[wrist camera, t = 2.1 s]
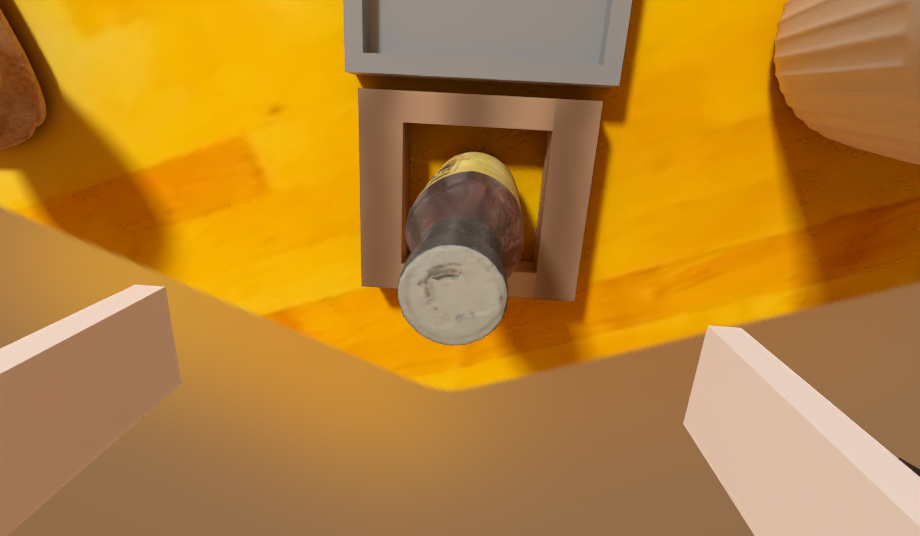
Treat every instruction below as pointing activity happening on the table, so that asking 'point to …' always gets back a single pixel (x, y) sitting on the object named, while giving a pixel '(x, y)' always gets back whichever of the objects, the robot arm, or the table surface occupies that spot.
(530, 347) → the table surface
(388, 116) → the bottle stand
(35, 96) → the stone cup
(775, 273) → the table surface
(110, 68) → the table surface
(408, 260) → the sauce bottle
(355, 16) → the tray
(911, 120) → the canister
